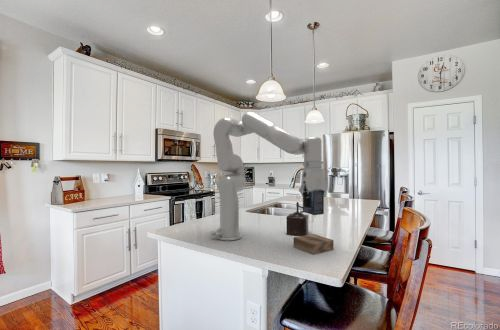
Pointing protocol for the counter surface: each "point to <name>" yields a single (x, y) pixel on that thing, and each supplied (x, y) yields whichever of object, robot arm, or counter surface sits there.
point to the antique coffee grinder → (297, 223)
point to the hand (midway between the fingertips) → (313, 206)
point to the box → (315, 203)
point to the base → (313, 243)
